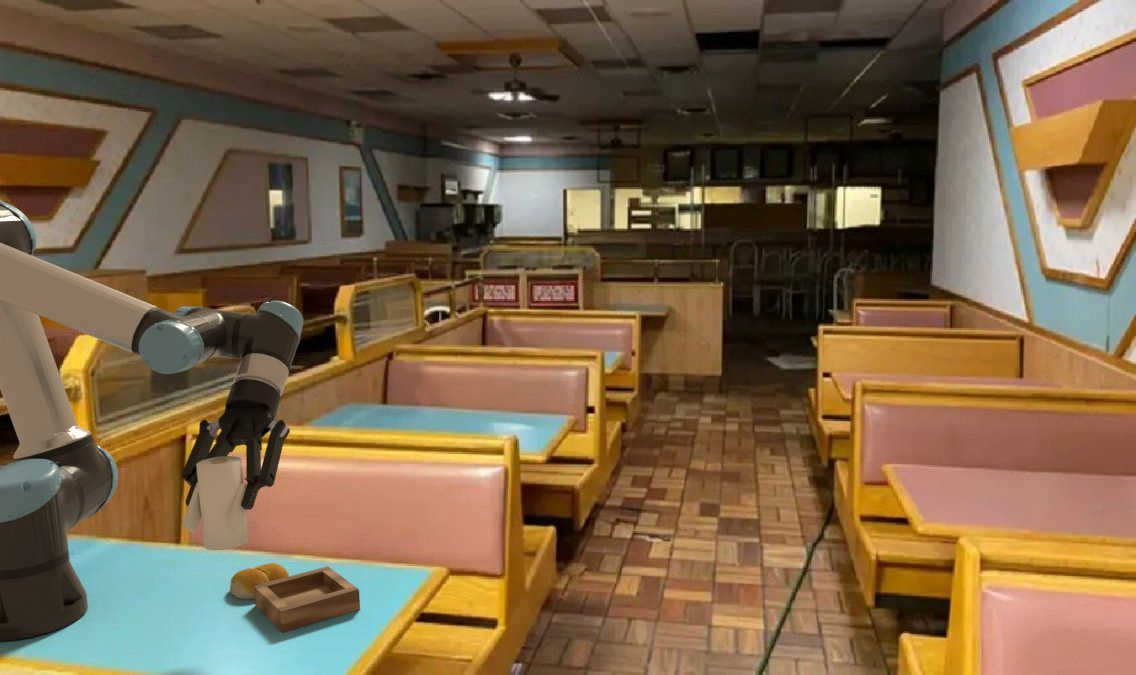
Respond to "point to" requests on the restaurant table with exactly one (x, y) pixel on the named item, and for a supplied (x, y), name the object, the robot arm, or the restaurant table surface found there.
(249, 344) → the robot arm
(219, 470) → the paper roll
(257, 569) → the bread roll
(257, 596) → the tray
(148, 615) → the restaurant table surface
